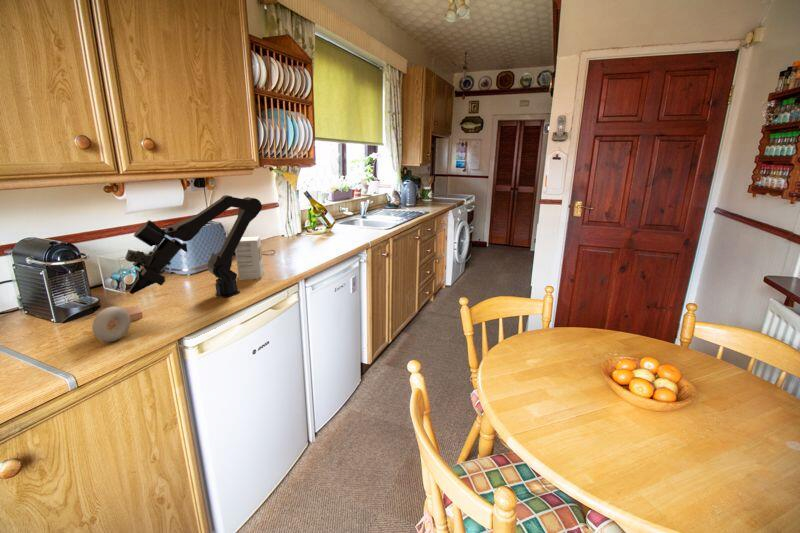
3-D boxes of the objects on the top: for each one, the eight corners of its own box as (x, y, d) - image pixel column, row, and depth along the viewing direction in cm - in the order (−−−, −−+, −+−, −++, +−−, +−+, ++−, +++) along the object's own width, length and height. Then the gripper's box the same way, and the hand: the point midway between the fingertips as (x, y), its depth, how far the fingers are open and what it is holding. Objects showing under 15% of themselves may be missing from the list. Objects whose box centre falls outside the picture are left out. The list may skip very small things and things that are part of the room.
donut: (103, 349, 101) (95, 315, 99) (93, 347, 102) (84, 314, 100) (136, 333, 111) (129, 301, 108) (127, 332, 112) (120, 300, 109)
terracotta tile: (137, 305, 127) (104, 312, 121) (141, 312, 121) (107, 320, 115) (138, 311, 127) (105, 319, 121) (143, 318, 122) (108, 327, 116)
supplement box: (261, 278, 160) (257, 240, 155) (238, 280, 158) (233, 241, 154) (264, 272, 169) (260, 235, 164) (242, 274, 167) (237, 237, 163)
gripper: (134, 236, 127) (101, 273, 122) (146, 244, 114) (108, 287, 109) (165, 254, 134) (134, 290, 130) (179, 265, 121) (145, 305, 117)
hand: (130, 293), depth 121 cm, fingers closed
